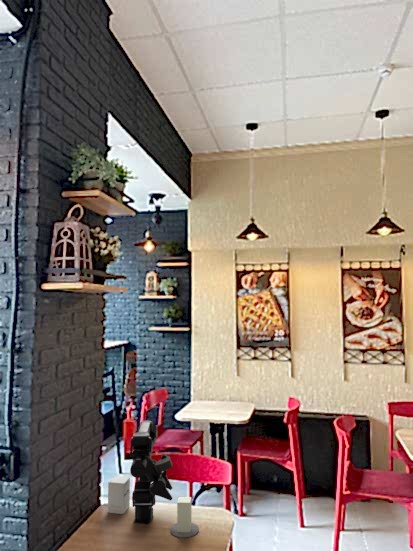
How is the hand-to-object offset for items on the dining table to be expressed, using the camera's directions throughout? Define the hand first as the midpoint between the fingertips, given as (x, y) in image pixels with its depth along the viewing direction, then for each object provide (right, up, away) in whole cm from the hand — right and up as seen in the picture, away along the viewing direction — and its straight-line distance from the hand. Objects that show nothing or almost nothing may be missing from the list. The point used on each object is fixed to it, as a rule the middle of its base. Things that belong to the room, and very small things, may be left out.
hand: (171, 494), depth 177 cm
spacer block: (+5, -12, -2) cm, 14 cm away
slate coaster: (+5, -13, -3) cm, 14 cm away
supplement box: (-24, -15, +16) cm, 32 cm away
